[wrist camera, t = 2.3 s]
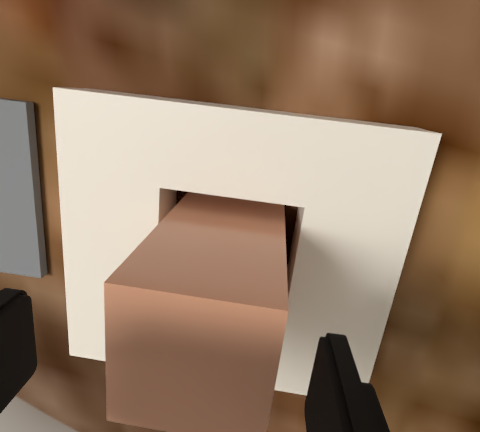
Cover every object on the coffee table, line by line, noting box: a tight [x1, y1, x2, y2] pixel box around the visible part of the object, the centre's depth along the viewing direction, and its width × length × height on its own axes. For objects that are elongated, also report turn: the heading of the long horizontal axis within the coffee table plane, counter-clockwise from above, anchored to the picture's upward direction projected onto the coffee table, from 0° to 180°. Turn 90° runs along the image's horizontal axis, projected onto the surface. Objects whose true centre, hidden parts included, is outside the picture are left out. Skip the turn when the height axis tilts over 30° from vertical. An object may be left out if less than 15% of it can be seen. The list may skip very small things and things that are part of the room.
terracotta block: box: [104, 192, 289, 432], centre depth 15 cm, size 5×5×10 cm
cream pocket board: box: [53, 87, 442, 395], centre depth 18 cm, size 16×14×3 cm
